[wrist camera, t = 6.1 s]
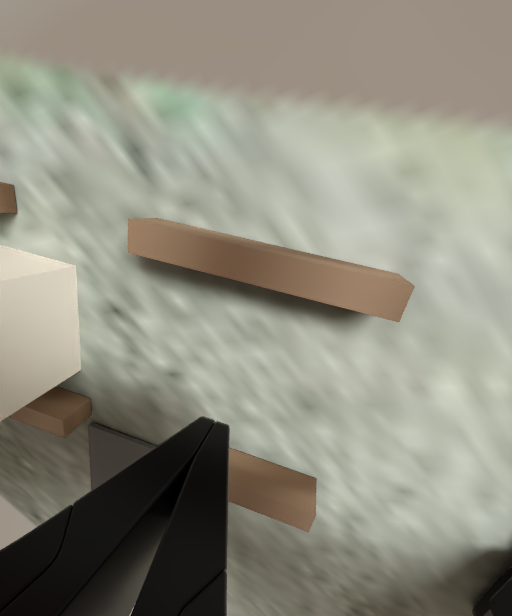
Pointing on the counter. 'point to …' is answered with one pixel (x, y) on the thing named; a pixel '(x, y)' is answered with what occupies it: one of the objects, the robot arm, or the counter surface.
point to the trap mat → (112, 452)
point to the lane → (257, 271)
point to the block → (35, 327)
